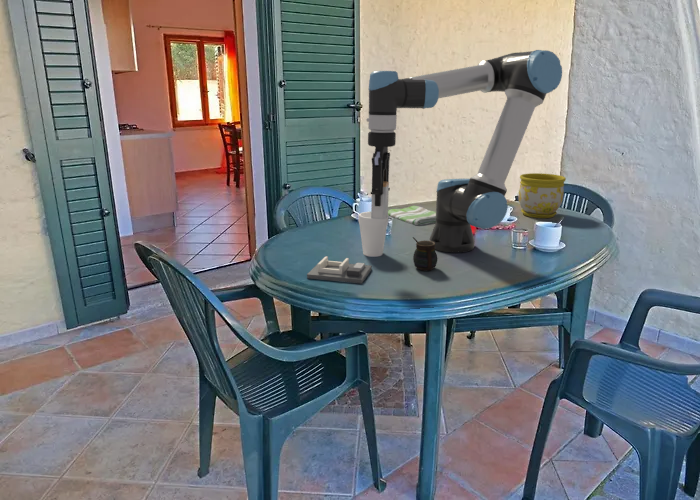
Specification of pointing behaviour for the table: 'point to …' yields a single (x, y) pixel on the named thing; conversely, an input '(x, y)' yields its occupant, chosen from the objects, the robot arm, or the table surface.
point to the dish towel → (414, 215)
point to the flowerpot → (540, 194)
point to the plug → (385, 202)
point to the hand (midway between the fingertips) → (379, 215)
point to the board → (340, 271)
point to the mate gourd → (425, 255)
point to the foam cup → (372, 234)
